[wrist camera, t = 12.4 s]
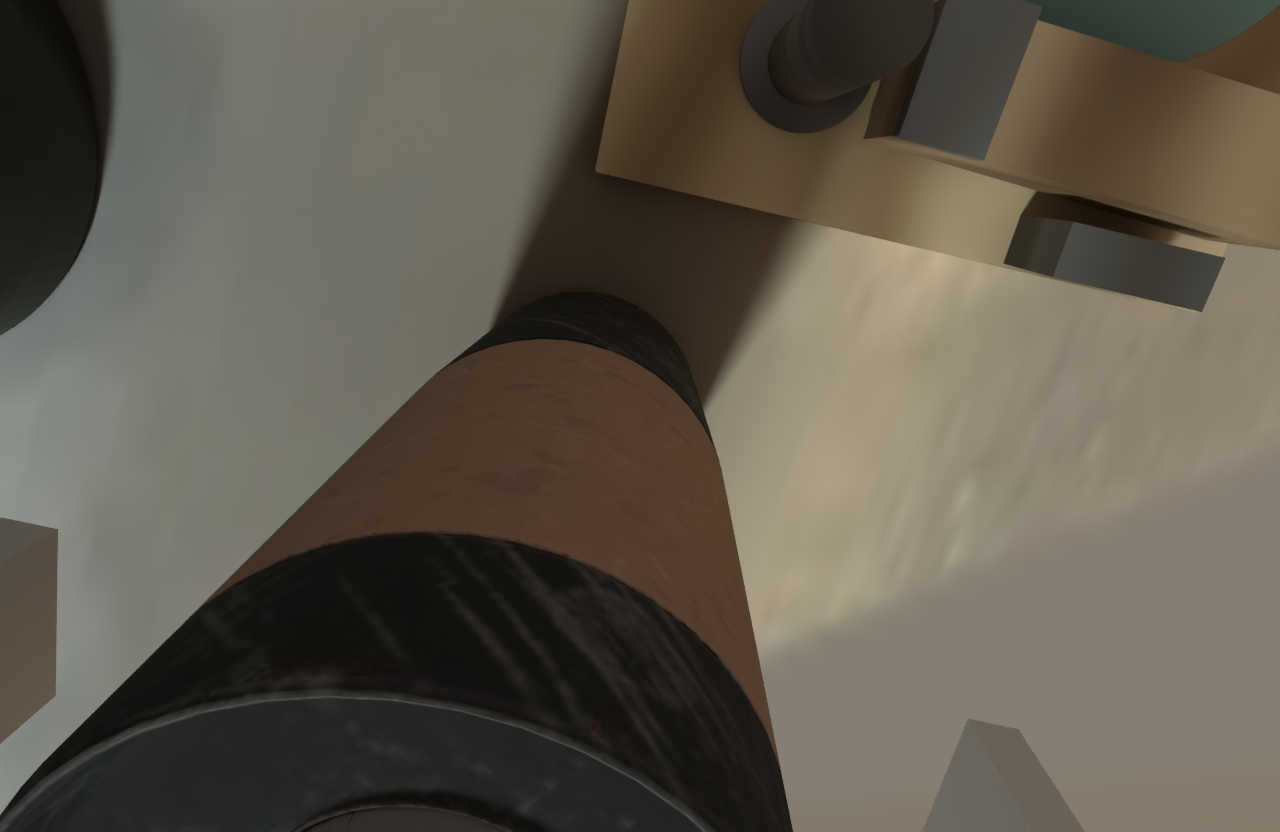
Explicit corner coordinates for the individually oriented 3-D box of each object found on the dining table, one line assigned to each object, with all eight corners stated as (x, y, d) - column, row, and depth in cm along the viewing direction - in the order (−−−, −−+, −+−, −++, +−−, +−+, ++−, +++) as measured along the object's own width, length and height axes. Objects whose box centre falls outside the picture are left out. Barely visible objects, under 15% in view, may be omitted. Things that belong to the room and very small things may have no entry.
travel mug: (470, 268, 25) (-161, 615, 6) (718, 295, 25) (937, 728, 6) (459, 497, 27) (-16, 1305, 8) (686, 521, 27) (766, 1376, 8)
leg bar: (854, 141, 22) (898, 135, 18) (897, 14, 21) (953, -21, 17) (1203, 243, 22) (1319, 260, 18) (1259, 125, 21) (1394, 115, 17)
